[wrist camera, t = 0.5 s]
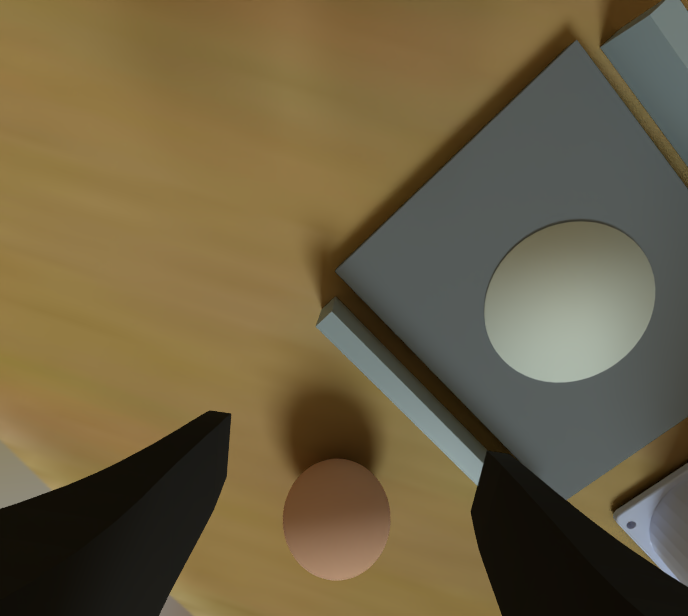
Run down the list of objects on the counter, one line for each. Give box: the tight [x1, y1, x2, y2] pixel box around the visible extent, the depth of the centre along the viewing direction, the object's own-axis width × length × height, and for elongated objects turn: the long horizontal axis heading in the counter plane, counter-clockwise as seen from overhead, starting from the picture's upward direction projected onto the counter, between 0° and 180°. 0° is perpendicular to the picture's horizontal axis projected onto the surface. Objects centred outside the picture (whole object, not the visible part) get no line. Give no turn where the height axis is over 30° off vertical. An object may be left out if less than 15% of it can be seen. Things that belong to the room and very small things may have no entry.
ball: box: [283, 459, 390, 580], centre depth 20 cm, size 6×6×6 cm
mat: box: [335, 40, 688, 500], centre depth 19 cm, size 18×14×1 cm
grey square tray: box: [316, 0, 688, 486], centre depth 18 cm, size 16×18×3 cm
